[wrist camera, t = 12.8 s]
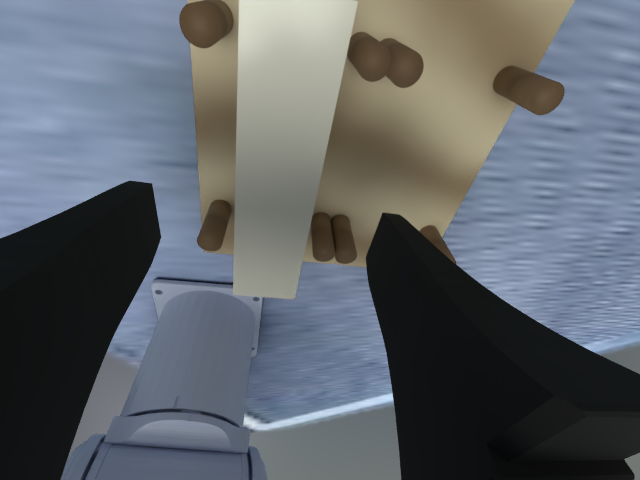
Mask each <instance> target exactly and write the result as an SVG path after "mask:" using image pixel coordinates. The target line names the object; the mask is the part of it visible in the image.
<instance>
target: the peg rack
mask: <svg viewBox="0 0 640 480" xmlns="http://www.w3.org/2000/svg"><path fill="white" fill-rule="evenodd" d="M354 1H358V5H357V9H356V14H355V19H354V23H353V28H352V33H351V37H350V42H349V47H348V51H347V56H346V61H345V65H344V70H343V75H342V80H341V84H340V89H339V94H338V98H337V103H336V108H335V112H334V117H333V122H332V126H331V131H330V136H329V140H328V145H327V150H326V155H325V159H324V164H323V169H322V173H321V178H320V183H319V187H318V192H317V197H316V201H315V206H314V211H313V215H312V220H311V225H310V230H309V234H308V239H307V244H306V248H305V253H304V258H303V261H305V262H316V263H327V264H337V265H348V266H358V267H367V266H366V255H367V252H368V250H369V247H370V244H371V242H372V239H373V237H374V234H375V231H376V229H377V226H378V223H379V221H380V218H381V215H382V213H391V214H399V215H401V216H402V217H404V218H405V219H406V220H407V221H408V222H410V223H411V224H412V225H413V226H414V227H415V228H416V229H417V230H418V231H419V232H420V233H422V234H423V235H424V236H425V237H426V238H427V239H428V240H429V241H430V242H431V243H432V244H433V245H435V246H436V247H437V248H438V249H439V250H440V251H441V252H442V253H443V254H444V255H446V256H447V257H448V258H449V259H450V260H451V261H453V262H454V263H455V264H456V261H455V259H454V257H453V256H452V254H451V252H450V251H449V249H448V247H447V245H446V244H445V242H444V240H443V238H442V236H443V235H444V233H445V231H446V229H447V228H448V226H449V224H450V222H451V220H452V219H453V217H454V215H455V213H456V211H457V210H458V208H459V206H460V204H461V202H462V201H463V199H464V197H465V195H466V194H467V192H468V190H469V188H470V186H471V185H472V183H473V181H474V179H475V177H476V176H477V174H478V172H479V170H480V169H481V167H482V165H483V163H484V161H485V160H486V158H487V156H488V154H489V152H490V151H491V149H492V147H493V145H494V144H495V142H496V140H497V138H498V136H499V135H500V133H501V131H502V129H503V127H504V126H505V124H506V122H507V120H508V119H509V117H510V115H511V113H512V111H513V110H514V108H515V106H516V104H518V105H520V106H521V107H523V108H525V109H527V110H529V111H531V112H532V113H534V114H536V115H544V114H547V113H549V112H551V111H553V110H554V109H555V108H556V107H557V106H558V105H559V104H560V102H561V101H562V99H563V96H564V87H563V85H562V84H561V83H559V82H556V81H553V80H551V79H548V78H545V77H543V76H540V75H537V74H535V73H534V72H535V70H536V68H537V67H538V65H539V63H540V61H541V60H542V58H543V56H544V54H545V52H546V51H547V49H548V47H549V45H550V43H551V42H552V40H553V38H554V36H555V35H556V33H557V31H558V29H559V27H560V26H561V24H562V22H563V20H564V18H565V17H566V15H567V13H568V11H569V10H570V8H571V6H572V4H573V2H574V1H575V0H354ZM179 21H180V27H181V30H182V33H183V35H184V36H185V38H186V39H187V40H188V41H189V42H190V47H191V62H192V78H193V93H194V109H195V124H196V140H197V155H198V171H199V187H200V202H201V218H202V228H201V230H200V233H199V236H198V238H197V243H198V245H199V246H200V247H201V248H202V249H204V252H210V253H220V254H231V255H234V220H235V173H236V126H237V78H238V31H239V0H188V4H187V5H186V6H184V8H183V9H182V11H181V13H180V19H179Z"/></svg>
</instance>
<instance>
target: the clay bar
mask: <svg viewBox="0 0 640 480" xmlns="http://www.w3.org/2000/svg"><path fill="white" fill-rule="evenodd" d="M357 5H358V1H354V0H239V31H238V78H237V126H236V173H235V220H234V267H233V295H242V296H255V297H268V298H282V299H295V295H296V290H297V286H298V281H299V276H300V272H301V267H302V262H303V258H304V253H305V248H306V244H307V239H308V234H309V230H310V225H311V220H312V215H313V211H314V206H315V201H316V197H317V192H318V187H319V183H320V178H321V173H322V169H323V164H324V159H325V155H326V150H327V145H328V140H329V136H330V131H331V126H332V122H333V117H334V112H335V108H336V103H337V98H338V94H339V89H340V84H341V80H342V75H343V70H344V65H345V61H346V56H347V51H348V47H349V42H350V37H351V33H352V28H353V23H354V19H355V14H356V9H357Z"/></svg>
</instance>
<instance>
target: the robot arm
mask: <svg viewBox="0 0 640 480" xmlns="http://www.w3.org/2000/svg"><path fill="white" fill-rule="evenodd" d="M160 239H161V234H160V228H159V222H158V216H157V210H156V205H155V199H154V193H153V187H152V183H144V182H136V181H128V182H125V183H123V184H120V185H118V186H116V187H114V188H112V189H109V190H107V191H105V192H103V193H101V194H99V195H97V196H95V197H93V198H91V199H89V200H87V201H85V202H83V203H81V204H79V205H76V206H74V207H72V208H70V209H68V210H66V211H64V212H62V213H60V214H57V215H55V216H53V217H50V218H48V219H46V220H44V221H41V222H39V223H37V224H34V225H32V226H30V227H28V228H25V229H23V230H21V231H18V232H16V233H13V234H11V235H8V236H6V237H3V238H0V480H267V472H266V467H265V464H264V461H263V460H262V458H261V456H260V453H259V451H258V449H257V448H255V447H252V446H249V437H250V430H249V429H245V428H243V421H244V413H245V404H246V396H247V387H248V379H249V370H250V362H251V357H255V356H256V355H257V346H258V337H259V328H260V319H261V310H262V301H263V297H255V296H242V295H233V285H224V284H211V283H199V282H186V281H173V280H160V279H157V280H154V281H153V282H152V284H151V290H152V294H153V298H154V303H155V307H156V312H157V316H158V320H159V321H158V323H157V326H156V328H155V331H154V333H153V336H152V338H151V341H150V343H149V345H148V348H147V350H146V353H145V355H144V358H143V360H142V363H141V365H140V368H139V370H138V373H137V375H136V378H135V380H134V382H133V385H132V387H131V390H130V392H129V395H128V397H127V400H126V402H125V405H124V407H123V410H122V412H121V414H120V416H115V417H114V418H113V420H112V422H111V425H110V427H109V430H108V432H107V434H106V436H105V435H103V434H95V435H92V436H91V437H90V438H89V439H88V440H87V441H85V442H84V443H82V444H80V445H79V446H78V447H76V448H75V449H74V450H73V452H72V453H71V455H70V456H69V457H68V455H69V452H70V449H71V446H72V443H73V440H74V437H75V434H76V431H77V429H78V425H79V423H80V420H81V417H82V414H83V411H84V408H85V406H86V403H87V401H88V398H89V395H90V393H91V390H92V387H93V385H94V382H95V379H96V377H97V374H98V372H99V369H100V367H101V364H102V362H103V359H104V357H105V354H106V352H107V349H108V347H109V344H110V342H111V340H112V338H113V336H114V334H115V332H116V330H117V327H118V326H119V324H120V322H121V320H122V318H123V316H124V315H125V313H126V311H127V309H128V307H129V305H130V303H131V302H132V300H133V298H134V296H135V294H136V292H137V291H138V289H139V287H140V285H141V283H142V281H143V279H144V278H145V276H146V274H147V272H148V270H149V268H150V266H151V264H152V262H153V259H154V256H155V254H156V251H157V248H158V245H159V242H160ZM366 266H367V275H368V282H369V287H370V291H371V294H372V298H373V302H374V306H375V309H376V313H377V317H378V321H379V324H380V328H381V332H382V335H383V339H384V343H385V348H386V352H387V358H388V364H389V371H390V377H391V384H392V391H393V399H394V406H395V413H396V424H397V433H398V441H399V442H398V443H399V452H400V467H401V480H634V473H633V472H632V470H631V469H630V468H629V466H628V465H627V463H626V462H625V460H624V459H625V458H628V457H630V456H632V455H635V454H637V453H640V374H638V373H636V372H634V371H632V370H630V369H627V368H625V367H623V366H621V365H619V364H617V363H615V362H613V361H610V360H608V359H606V358H604V357H602V356H600V355H598V354H596V353H594V352H592V351H590V350H588V349H586V348H584V347H582V346H580V345H578V344H577V343H575V342H573V341H571V340H569V339H567V338H565V337H563V336H562V335H560V334H558V333H556V332H554V331H553V330H551V329H549V328H547V327H546V326H544V325H542V324H540V323H539V322H537V321H535V320H534V319H532V318H530V317H529V316H527V315H526V314H524V313H522V312H521V311H519V310H518V309H516V308H514V307H513V306H511V305H510V304H508V303H507V302H505V301H504V300H502V299H501V298H499V297H498V296H497V295H495V294H494V293H492V292H491V291H490V290H488V289H487V288H485V287H484V286H483V285H481V284H480V283H478V282H477V281H476V280H475V279H473V278H472V277H471V276H469V275H468V274H467V273H466V272H465V271H463V270H462V269H461V268H460V267H458V266H457V265H456V264H455V263H454V262H453V261H451V260H450V259H449V258H448V257H447V256H446V255H444V254H443V253H442V252H441V251H440V250H439V249H438V248H437V247H436V246H435V245H433V244H432V243H431V242H430V241H429V240H428V239H427V238H426V237H425V236H424V235H423V234H422V233H420V232H419V231H418V230H417V229H416V228H415V227H414V226H413V225H412V224H411V223H410V222H408V221H407V220H406V219H405V218H404V217H402V216H401V215H399V214H391V213H382V215H381V218H380V221H379V223H378V226H377V229H376V231H375V234H374V237H373V239H372V242H371V244H370V247H369V250H368V252H367V255H366ZM67 458H68V459H67Z"/></svg>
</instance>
